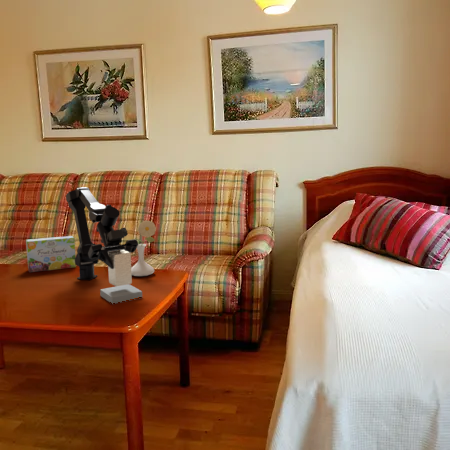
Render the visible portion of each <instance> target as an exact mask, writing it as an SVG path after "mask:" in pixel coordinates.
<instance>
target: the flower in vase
mask: <svg viewBox="0 0 450 450" xmlns="http://www.w3.org/2000/svg"><path fill="white" fill-rule="evenodd" d="M156 231H157V226H156V224H155V223H154V222H153V221H150V220H143V221H142V222H140V223H139V224H138V227H137V232H138V233H139V235H140V236H142V237H145V238H144V240H141V239H138V238H136V237H135V238H134V239H136V240H137V242H141V243H138V246H137V248H136V250H137V252H138V259H137V260H138V261H137V262H136V263H135V264H134V265H133V266H131V275H132V276H134V277H147V276H150V275H152V274H153V273H155V268H154V267H153V266H152V265H150V264H149V263H147V262H146V261H145V255H144V254H145V248H146V247H147V244H146V243H145V241H147V242H148V243H153V242H155V241H156V240H155V238H154V237H153V236H154V235H155V234H156Z"/></svg>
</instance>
